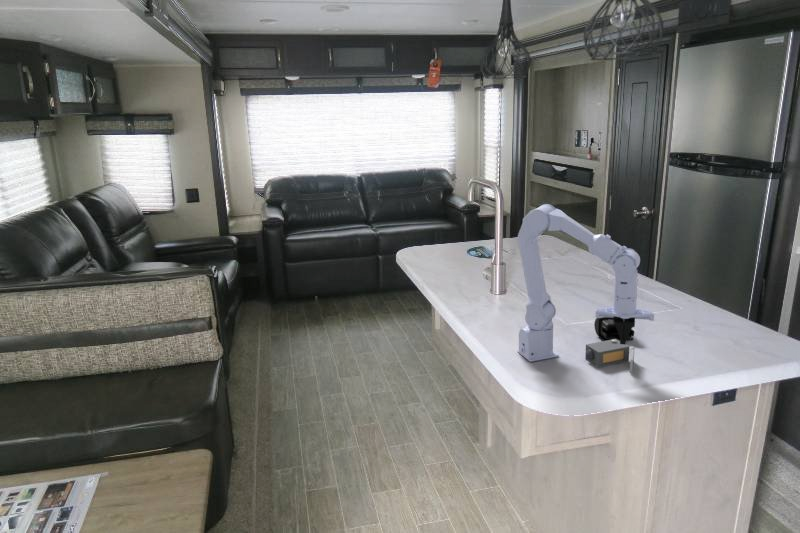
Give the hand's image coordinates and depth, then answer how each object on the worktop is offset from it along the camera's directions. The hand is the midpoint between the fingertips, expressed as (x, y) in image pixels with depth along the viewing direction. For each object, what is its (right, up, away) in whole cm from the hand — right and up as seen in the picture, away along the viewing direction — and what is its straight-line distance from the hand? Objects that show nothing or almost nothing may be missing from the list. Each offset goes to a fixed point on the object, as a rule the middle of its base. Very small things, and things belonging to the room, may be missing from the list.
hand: (622, 342), depth 154 cm
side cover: (+3, -7, +2) cm, 8 cm away
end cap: (+6, -2, +23) cm, 24 cm away
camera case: (-1, -6, +8) cm, 10 cm away
